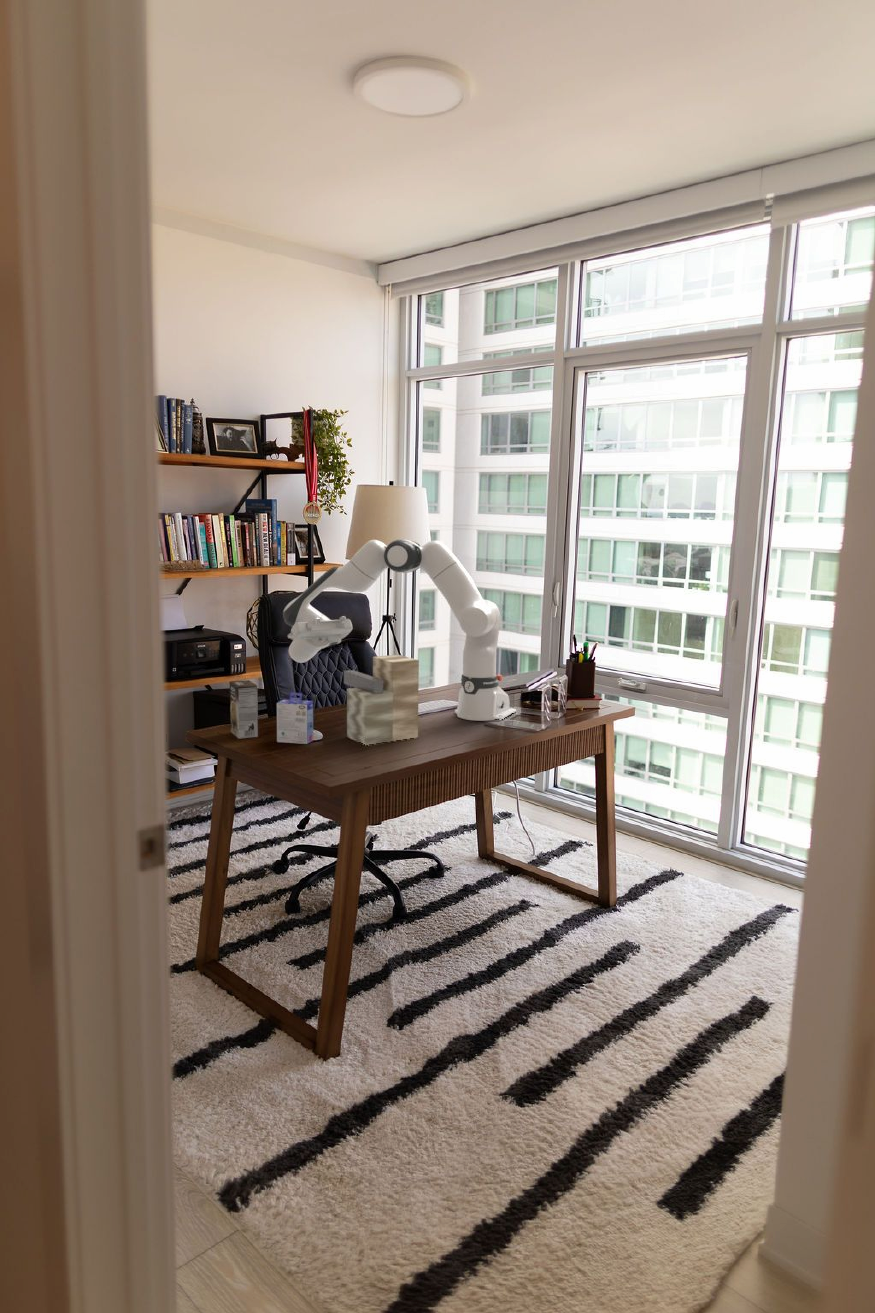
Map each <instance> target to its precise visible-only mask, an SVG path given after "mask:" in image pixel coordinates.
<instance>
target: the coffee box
mask: <svg viewBox="0 0 875 1313" xmlns="http://www.w3.org/2000/svg"><path fill="white" fill-rule="evenodd" d="M228 683H229V703H230V704H229V708H230V709H229V710H230V711H229V713H230V715H229V716H230V733H232V735H234V736H235V737H236V738H237V739H247V738H248V739H251V738H258V737H259V725H258V724H259V722H258V720H259V718H258V717H259V714H258V713H259V712H258V709H259V708H258V705H259V704H258V685H257V684H256V683H254V682H253V681H251V680H250V679H249V680H230V681H229V682H228Z"/></svg>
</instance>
